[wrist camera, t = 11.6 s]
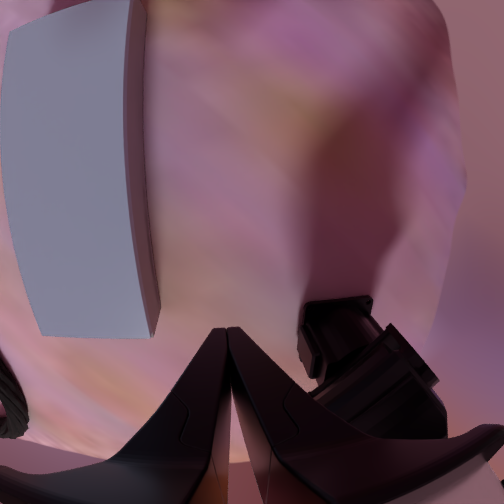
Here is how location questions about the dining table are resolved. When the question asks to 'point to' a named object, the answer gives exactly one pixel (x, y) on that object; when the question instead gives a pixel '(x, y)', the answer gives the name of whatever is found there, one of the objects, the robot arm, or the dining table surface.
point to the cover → (73, 171)
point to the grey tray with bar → (140, 160)
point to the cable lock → (12, 407)
